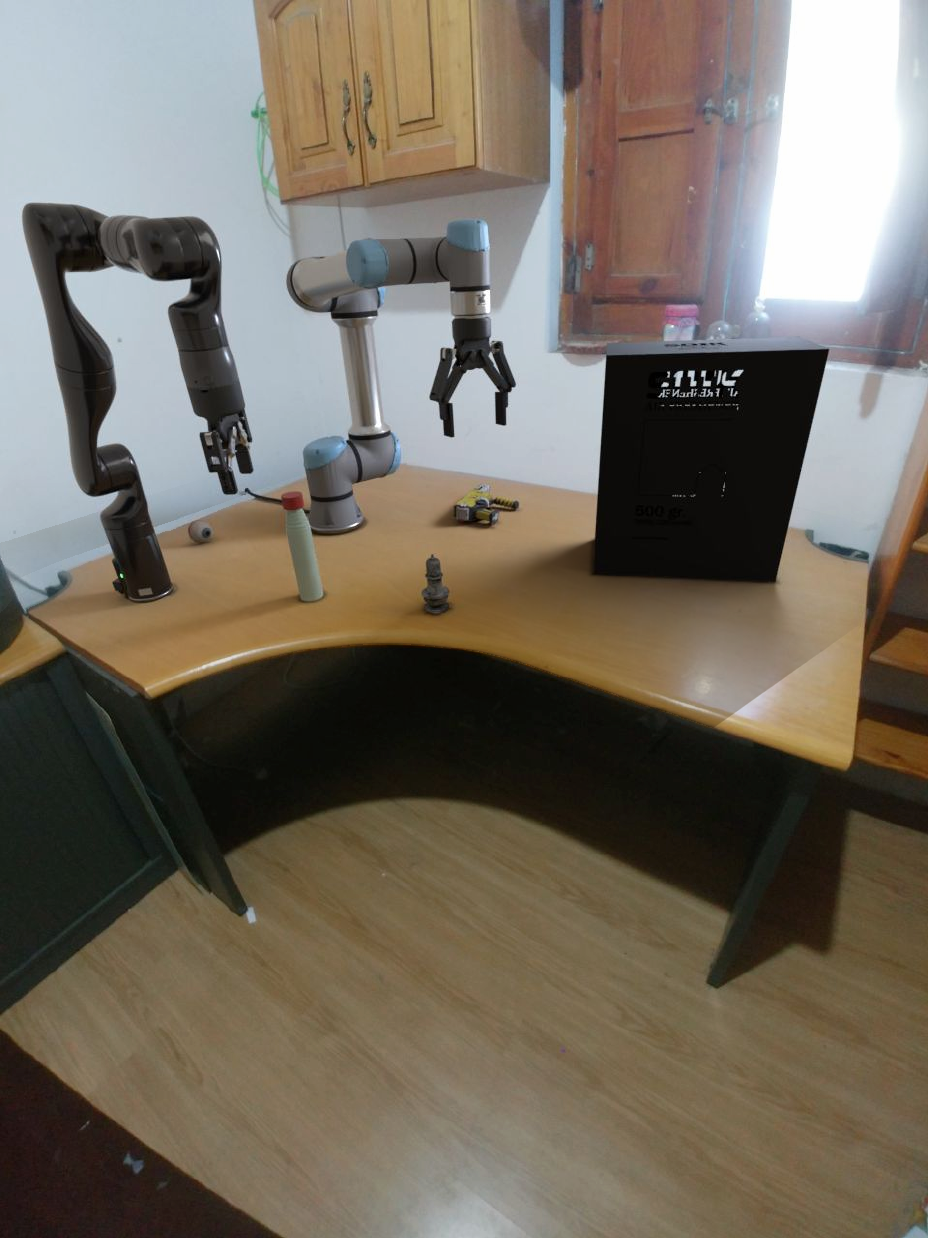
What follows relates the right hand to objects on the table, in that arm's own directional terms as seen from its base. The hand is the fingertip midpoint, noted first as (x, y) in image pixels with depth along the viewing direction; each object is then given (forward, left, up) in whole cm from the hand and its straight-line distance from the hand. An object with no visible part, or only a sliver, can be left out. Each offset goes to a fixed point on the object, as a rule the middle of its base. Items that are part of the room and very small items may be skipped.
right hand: (475, 430), depth 126 cm
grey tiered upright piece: (+10, -19, -31) cm, 38 cm away
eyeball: (-63, -46, -31) cm, 84 cm away
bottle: (-13, -37, -31) cm, 50 cm away
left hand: (+3, -51, +1) cm, 51 cm away
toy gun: (-27, +25, -31) cm, 48 cm away
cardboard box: (+28, +36, -31) cm, 55 cm away
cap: (-13, -37, -8) cm, 40 cm away
